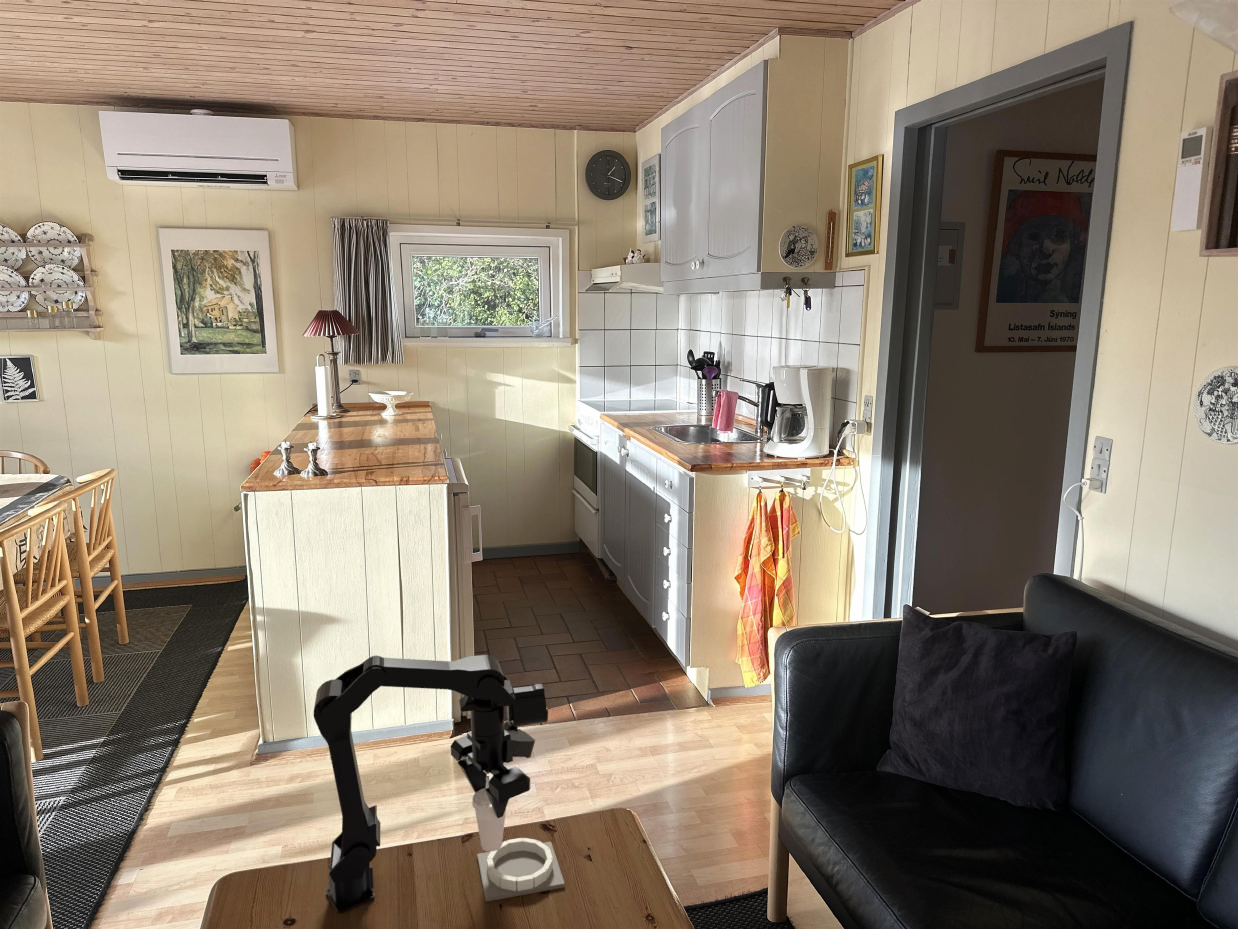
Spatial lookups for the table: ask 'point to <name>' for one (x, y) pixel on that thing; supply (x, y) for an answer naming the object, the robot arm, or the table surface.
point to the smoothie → (488, 821)
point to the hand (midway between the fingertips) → (490, 807)
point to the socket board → (519, 869)
